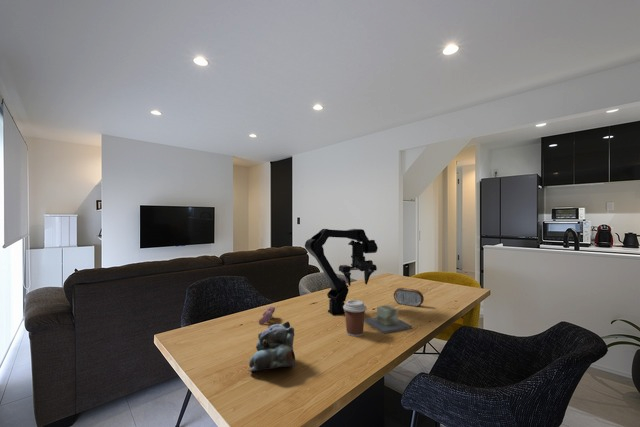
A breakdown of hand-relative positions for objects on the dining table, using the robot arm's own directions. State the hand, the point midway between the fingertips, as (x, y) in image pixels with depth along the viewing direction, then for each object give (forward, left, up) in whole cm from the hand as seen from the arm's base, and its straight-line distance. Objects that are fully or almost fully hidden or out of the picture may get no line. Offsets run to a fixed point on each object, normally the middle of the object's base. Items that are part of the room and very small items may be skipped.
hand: (357, 285), depth 137 cm
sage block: (+1, -23, -11) cm, 25 cm away
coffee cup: (-16, -25, -12) cm, 32 cm away
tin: (+28, -5, -12) cm, 31 cm away
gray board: (+1, -23, -12) cm, 26 cm away
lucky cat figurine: (-52, -36, -12) cm, 65 cm away
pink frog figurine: (-45, +2, -12) cm, 47 cm away
